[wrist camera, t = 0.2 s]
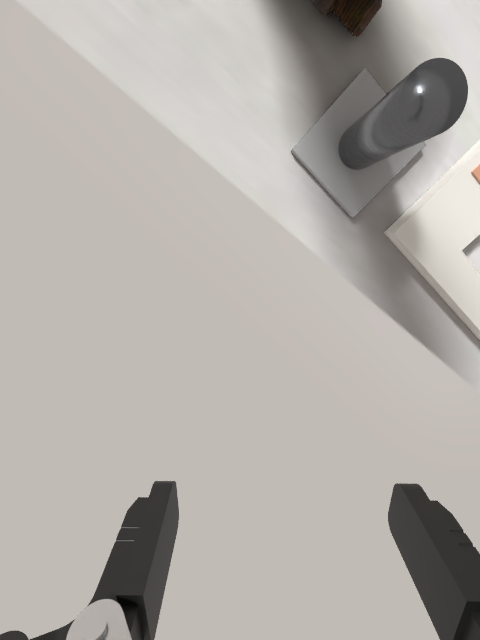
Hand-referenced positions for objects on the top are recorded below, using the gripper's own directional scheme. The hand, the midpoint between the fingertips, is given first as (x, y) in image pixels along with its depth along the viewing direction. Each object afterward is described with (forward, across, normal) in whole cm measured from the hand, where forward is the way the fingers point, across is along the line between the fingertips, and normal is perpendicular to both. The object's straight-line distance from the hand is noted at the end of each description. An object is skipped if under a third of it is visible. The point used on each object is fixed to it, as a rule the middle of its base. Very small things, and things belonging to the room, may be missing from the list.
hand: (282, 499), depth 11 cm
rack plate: (+29, -27, -6) cm, 40 cm away
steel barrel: (+28, -11, -16) cm, 35 cm away
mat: (+29, -11, -16) cm, 35 cm away
